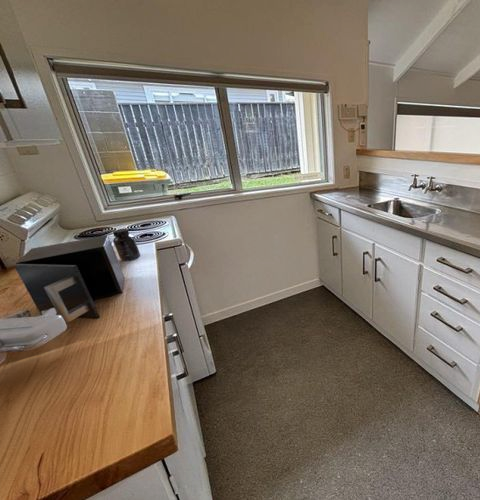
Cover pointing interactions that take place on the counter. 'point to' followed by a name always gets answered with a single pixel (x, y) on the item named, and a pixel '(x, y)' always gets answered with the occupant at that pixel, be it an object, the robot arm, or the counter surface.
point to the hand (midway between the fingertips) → (39, 311)
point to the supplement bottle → (125, 245)
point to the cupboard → (85, 263)
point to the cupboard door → (58, 290)
